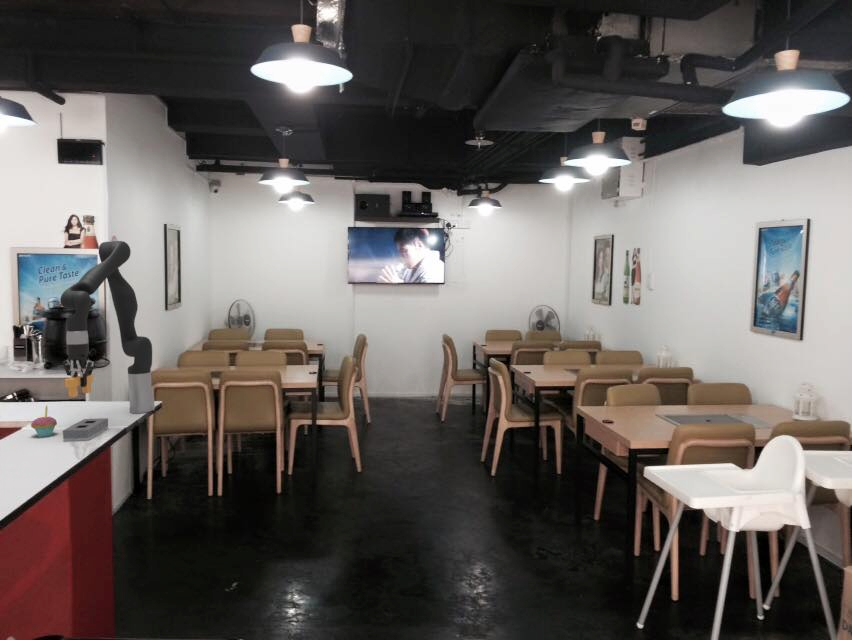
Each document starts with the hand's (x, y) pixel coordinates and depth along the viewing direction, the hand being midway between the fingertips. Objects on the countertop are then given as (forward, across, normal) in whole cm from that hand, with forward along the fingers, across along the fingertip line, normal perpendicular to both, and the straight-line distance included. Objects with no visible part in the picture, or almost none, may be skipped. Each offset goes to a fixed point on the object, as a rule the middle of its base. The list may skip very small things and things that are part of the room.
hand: (79, 386), depth 257 cm
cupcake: (+18, +10, +8) cm, 22 cm away
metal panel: (+18, -6, +4) cm, 19 cm away
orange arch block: (+3, 0, 0) cm, 3 cm away
